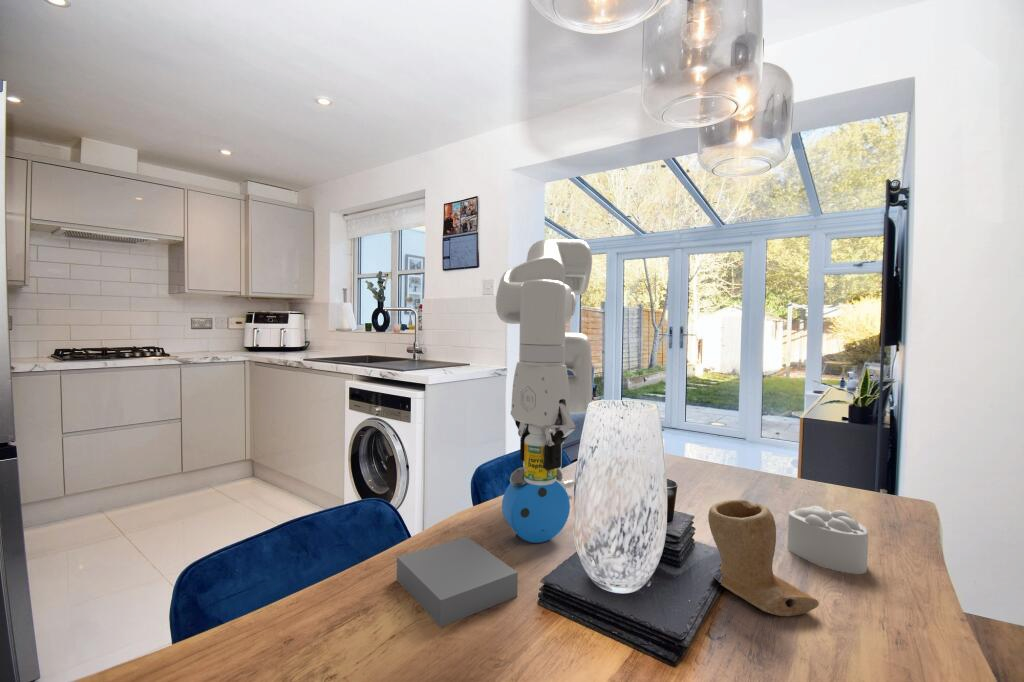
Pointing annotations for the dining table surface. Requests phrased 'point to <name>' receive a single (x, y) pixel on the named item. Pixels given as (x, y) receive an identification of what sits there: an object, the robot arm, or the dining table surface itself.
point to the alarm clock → (535, 507)
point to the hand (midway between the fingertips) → (540, 462)
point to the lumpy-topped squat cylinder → (828, 539)
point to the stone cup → (753, 558)
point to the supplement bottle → (536, 458)
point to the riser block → (456, 579)
